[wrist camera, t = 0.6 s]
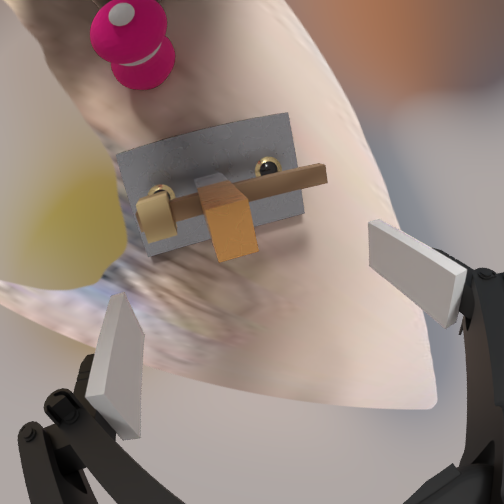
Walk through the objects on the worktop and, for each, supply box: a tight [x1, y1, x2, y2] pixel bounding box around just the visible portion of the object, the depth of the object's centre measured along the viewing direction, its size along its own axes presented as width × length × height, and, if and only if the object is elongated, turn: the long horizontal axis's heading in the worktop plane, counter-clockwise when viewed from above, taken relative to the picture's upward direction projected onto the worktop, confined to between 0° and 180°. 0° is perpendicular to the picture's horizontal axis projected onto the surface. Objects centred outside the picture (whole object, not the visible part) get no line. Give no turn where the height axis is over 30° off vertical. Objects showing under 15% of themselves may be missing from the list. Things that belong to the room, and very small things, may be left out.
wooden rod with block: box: [135, 163, 328, 244], centre depth 33 cm, size 4×20×9 cm, turn 102°
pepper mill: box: [90, 0, 175, 90], centre depth 22 cm, size 7×7×20 cm
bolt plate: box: [116, 112, 305, 257], centre depth 38 cm, size 14×22×2 cm, turn 102°
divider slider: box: [194, 172, 259, 263], centre depth 29 cm, size 4×3×17 cm
